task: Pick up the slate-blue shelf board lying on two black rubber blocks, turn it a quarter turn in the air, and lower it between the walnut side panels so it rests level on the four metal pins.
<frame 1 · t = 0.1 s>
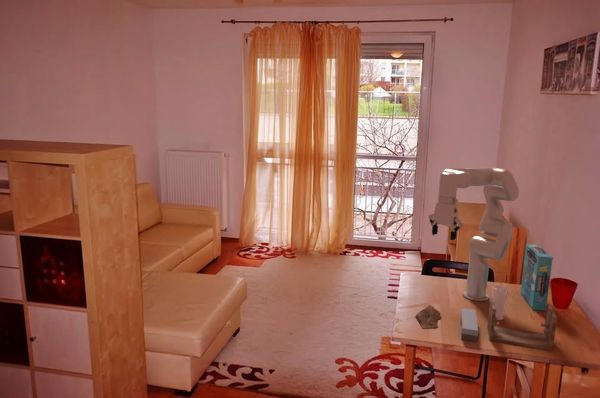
hand: (443, 237, 208), 37 cm above the table, tool pointing down, fingers open, 9 cm apart
wooden fragment: (428, 317, 212), on the table
shelf unit: (518, 338, 193), on the table
game box: (532, 302, 230), on the table
shelf board: (468, 324, 199), point 3 cm above the table, touching support blocks
support blocks: (468, 330, 199), on the table
drinking glass: (496, 318, 211), on the table
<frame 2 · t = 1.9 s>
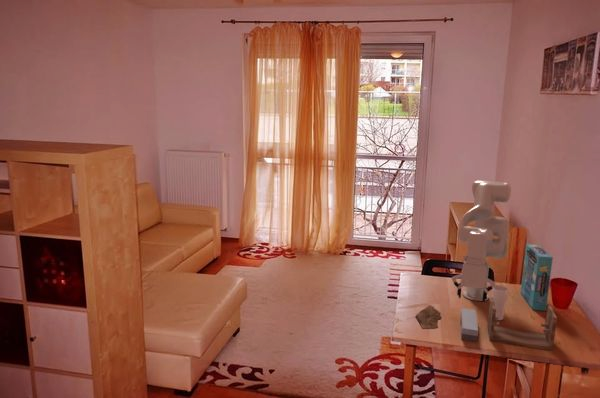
hand: (471, 298, 196), 15 cm above the table, tool pointing down, fingers open, 9 cm apart
nothing on the table moved.
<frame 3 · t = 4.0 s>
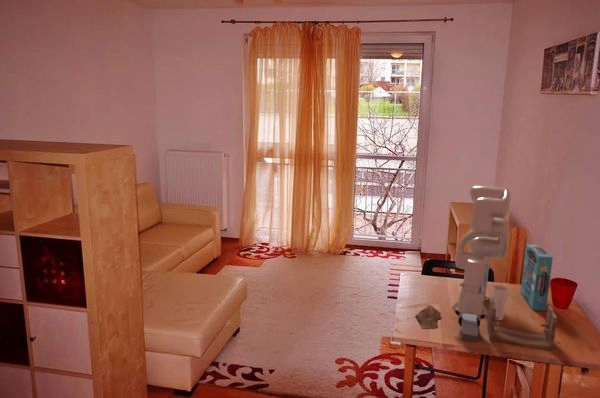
hand: (468, 326, 199), 2 cm above the table, tool pointing down, fingers closed on shelf board, 6 cm apart
shelf board: (468, 324, 199), point 3 cm above the table, touching gripper, support blocks
everything else where it was.
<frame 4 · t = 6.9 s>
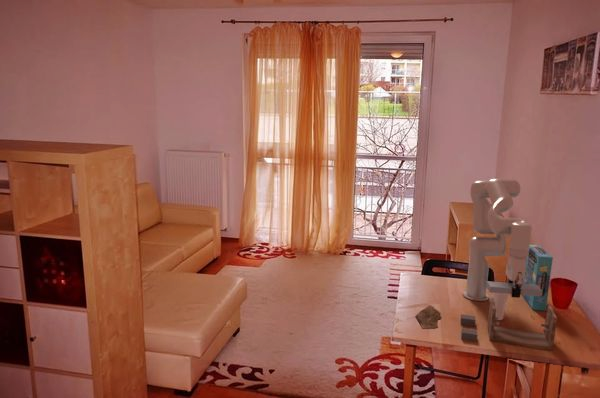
hand: (513, 293, 190), 20 cm above the table, tool pointing down, fingers closed on shelf board, 6 cm apart
shelf board: (513, 291, 190), point 21 cm above the table, touching gripper
everything else where it was.
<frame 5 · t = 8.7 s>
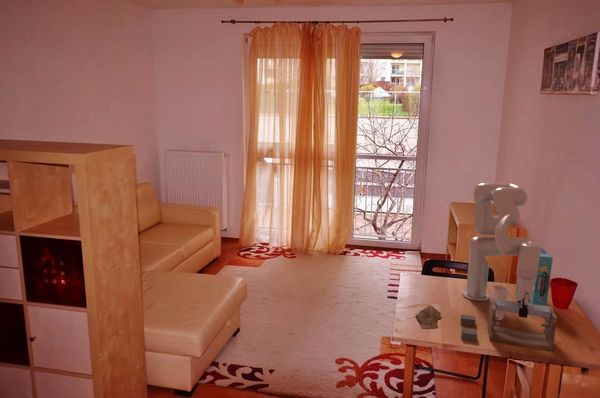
hand: (521, 313, 191), 11 cm above the table, tool pointing down, fingers closed on shelf board, 6 cm apart
shelf board: (521, 311, 191), point 12 cm above the table, touching gripper
everything else where it was.
when the fingers open (7 cm above the table, at t = 10.1 s): shelf board stays where it is, resting on shelf unit.
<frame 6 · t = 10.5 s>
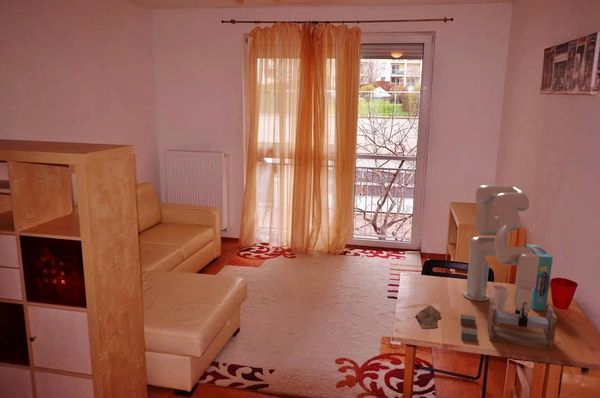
hand: (520, 321, 192), 8 cm above the table, tool pointing down, fingers open, 9 cm apart
shelf board: (520, 322, 192), point 7 cm above the table, touching shelf unit
everything else where it was.
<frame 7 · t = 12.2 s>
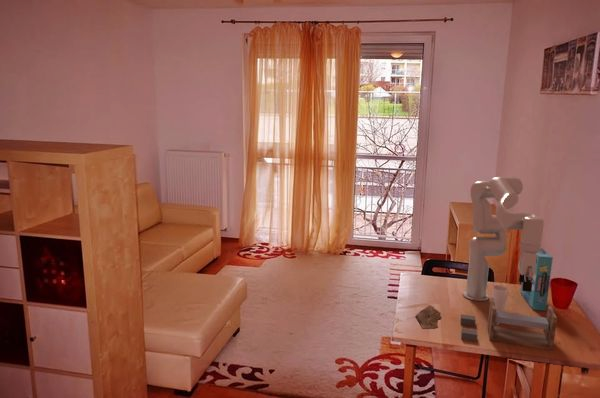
hand: (524, 286, 189), 23 cm above the table, tool pointing down, fingers open, 9 cm apart
nothing on the table moved.
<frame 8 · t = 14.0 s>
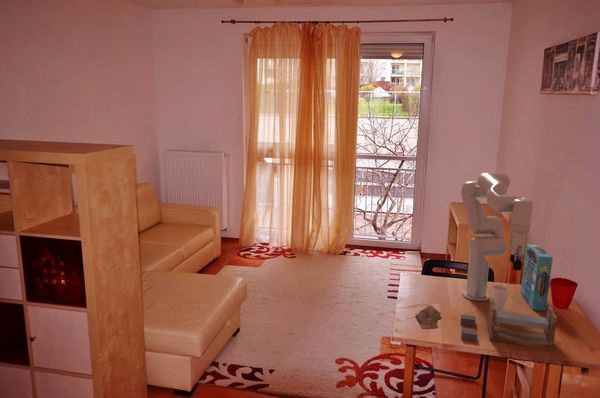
hand: (515, 266, 198), 28 cm above the table, tool pointing down, fingers open, 9 cm apart
nothing on the table moved.
at the end: shelf board 0.1 cm off-centre on the shelf unit, point 7.1 cm above the shelf unit's base; shelf board tilted 0°; the gripper is holding nothing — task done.
